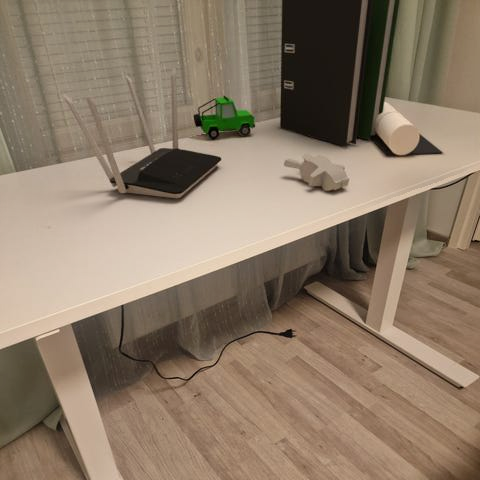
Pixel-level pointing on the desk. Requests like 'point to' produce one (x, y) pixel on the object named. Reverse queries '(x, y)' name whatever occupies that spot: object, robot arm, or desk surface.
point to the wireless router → (151, 157)
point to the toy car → (224, 119)
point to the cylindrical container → (396, 131)
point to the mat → (421, 148)
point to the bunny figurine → (320, 172)
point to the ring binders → (335, 66)
